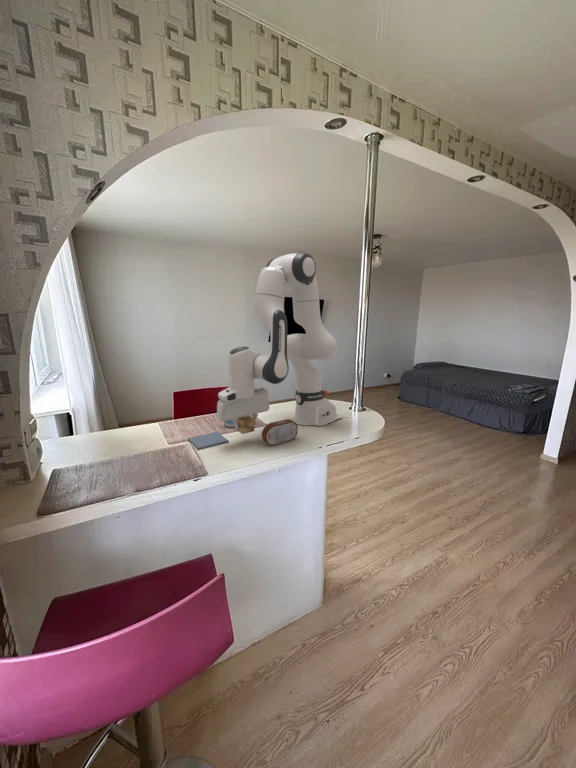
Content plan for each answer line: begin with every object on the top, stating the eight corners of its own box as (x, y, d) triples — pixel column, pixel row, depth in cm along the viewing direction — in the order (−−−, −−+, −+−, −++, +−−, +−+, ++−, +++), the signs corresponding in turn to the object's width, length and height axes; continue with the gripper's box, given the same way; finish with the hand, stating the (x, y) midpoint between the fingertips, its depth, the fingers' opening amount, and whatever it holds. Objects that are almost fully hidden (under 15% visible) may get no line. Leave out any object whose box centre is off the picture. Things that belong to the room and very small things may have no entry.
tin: (294, 437, 130) (294, 416, 129) (299, 439, 128) (299, 418, 126) (261, 446, 122) (260, 424, 120) (265, 448, 119) (265, 426, 118)
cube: (248, 427, 129) (247, 415, 128) (254, 431, 125) (253, 418, 124) (236, 430, 126) (235, 417, 125) (242, 434, 122) (241, 421, 121)
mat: (216, 433, 136) (216, 431, 136) (228, 442, 126) (228, 440, 126) (187, 440, 129) (187, 438, 129) (198, 450, 120) (197, 447, 119)
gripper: (263, 385, 130) (265, 418, 133) (213, 394, 119) (217, 430, 123) (271, 388, 125) (273, 422, 128) (220, 398, 114) (223, 435, 117)
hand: (245, 426), depth 125 cm, fingers closed on cube, 5 cm apart
